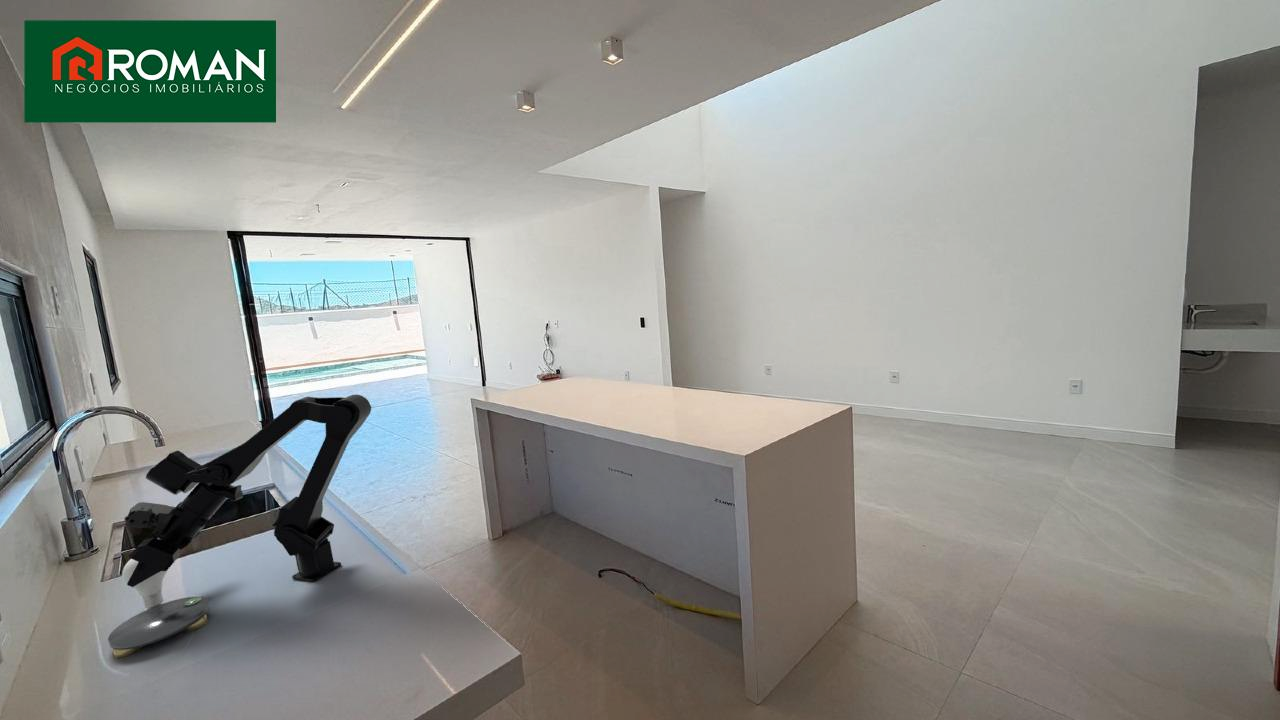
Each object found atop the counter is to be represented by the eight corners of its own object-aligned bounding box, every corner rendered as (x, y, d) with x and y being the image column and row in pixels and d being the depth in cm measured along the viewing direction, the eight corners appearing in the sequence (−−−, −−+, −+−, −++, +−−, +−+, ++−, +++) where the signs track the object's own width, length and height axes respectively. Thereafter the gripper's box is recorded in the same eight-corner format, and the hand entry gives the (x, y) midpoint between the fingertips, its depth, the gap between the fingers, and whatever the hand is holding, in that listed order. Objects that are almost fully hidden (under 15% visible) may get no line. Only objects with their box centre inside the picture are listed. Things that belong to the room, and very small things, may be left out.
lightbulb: (184, 598, 100) (172, 546, 99) (144, 619, 94) (131, 564, 93) (164, 595, 102) (152, 544, 101) (124, 614, 97) (110, 561, 95)
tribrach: (228, 613, 94) (225, 600, 94) (140, 663, 82) (137, 649, 81) (182, 605, 98) (179, 592, 98) (92, 652, 86) (89, 638, 85)
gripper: (172, 473, 105) (114, 539, 102) (133, 503, 89) (61, 582, 85) (227, 499, 110) (173, 563, 107) (199, 532, 93) (133, 609, 90)
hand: (137, 577), depth 97 cm, fingers closed on lightbulb, 6 cm apart
